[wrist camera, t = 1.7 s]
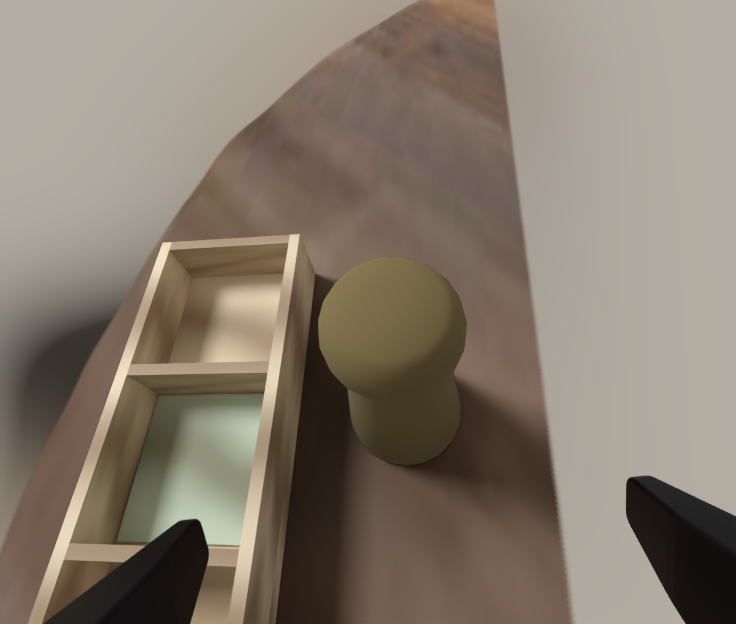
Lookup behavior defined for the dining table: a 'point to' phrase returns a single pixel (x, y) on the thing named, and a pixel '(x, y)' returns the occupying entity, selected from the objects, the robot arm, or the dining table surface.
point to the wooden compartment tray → (199, 427)
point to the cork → (396, 356)
